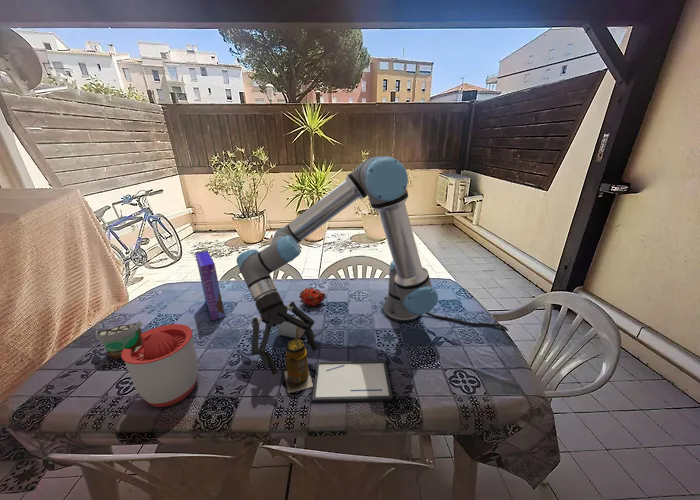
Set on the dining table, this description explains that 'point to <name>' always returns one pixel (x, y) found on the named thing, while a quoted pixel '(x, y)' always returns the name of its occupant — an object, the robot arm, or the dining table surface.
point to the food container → (120, 339)
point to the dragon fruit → (312, 297)
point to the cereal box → (210, 284)
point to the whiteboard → (351, 381)
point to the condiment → (297, 367)
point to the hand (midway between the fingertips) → (296, 361)
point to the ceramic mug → (290, 330)
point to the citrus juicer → (163, 365)
